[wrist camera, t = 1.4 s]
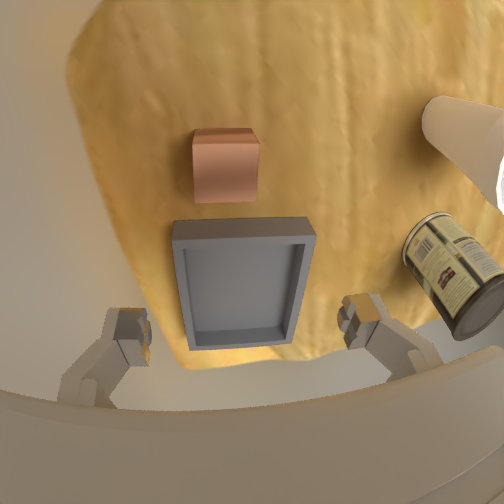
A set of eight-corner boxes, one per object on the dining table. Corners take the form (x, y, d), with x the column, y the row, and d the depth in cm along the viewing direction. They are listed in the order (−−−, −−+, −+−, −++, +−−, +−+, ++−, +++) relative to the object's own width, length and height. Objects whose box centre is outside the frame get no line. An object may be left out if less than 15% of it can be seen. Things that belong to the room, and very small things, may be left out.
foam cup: (398, 105, 25) (490, 151, 15) (452, 70, 22) (544, 102, 12) (426, 172, 30) (499, 234, 20) (473, 135, 27) (548, 184, 17)
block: (195, 128, 25) (192, 144, 21) (250, 128, 25) (259, 143, 21) (196, 178, 28) (194, 203, 24) (248, 177, 28) (255, 201, 24)
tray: (174, 220, 30) (171, 240, 27) (306, 216, 32) (316, 235, 29) (189, 330, 41) (189, 350, 38) (286, 324, 43) (291, 343, 40)
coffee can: (445, 262, 40) (493, 327, 29) (395, 275, 40) (441, 351, 29) (463, 207, 34) (526, 271, 23) (410, 214, 34) (476, 291, 23)
